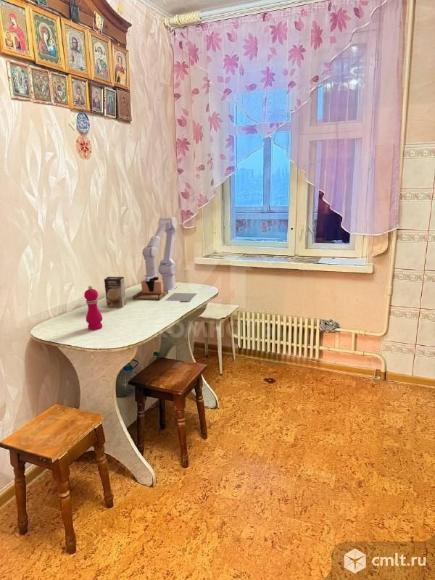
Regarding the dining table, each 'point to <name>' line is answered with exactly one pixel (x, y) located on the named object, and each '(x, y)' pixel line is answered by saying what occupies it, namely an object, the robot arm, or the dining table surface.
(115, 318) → the dining table surface
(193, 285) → the dining table surface
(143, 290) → the salmon orange block
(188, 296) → the mat
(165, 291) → the rack
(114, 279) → the coffee box
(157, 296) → the offcut top
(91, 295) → the pepper mill
